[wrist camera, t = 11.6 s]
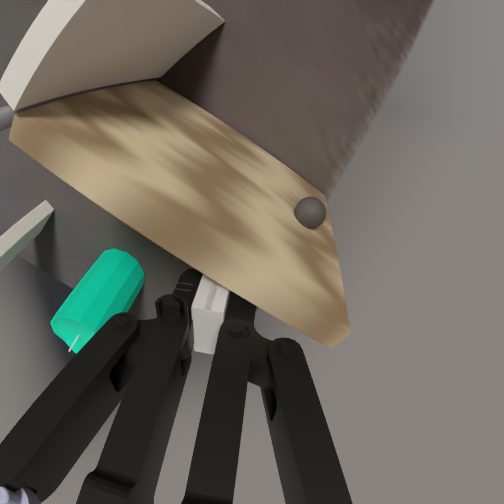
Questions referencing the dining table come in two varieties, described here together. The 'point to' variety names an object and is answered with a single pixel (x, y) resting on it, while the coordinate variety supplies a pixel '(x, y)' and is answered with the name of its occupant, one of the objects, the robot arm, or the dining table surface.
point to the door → (198, 196)
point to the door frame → (93, 63)
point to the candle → (98, 297)
